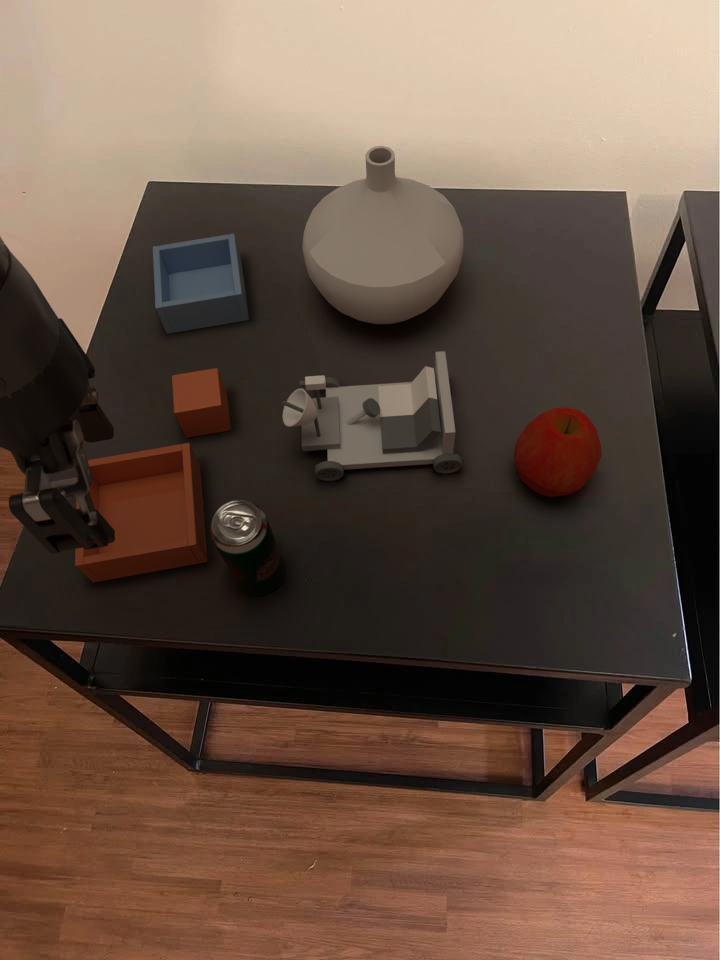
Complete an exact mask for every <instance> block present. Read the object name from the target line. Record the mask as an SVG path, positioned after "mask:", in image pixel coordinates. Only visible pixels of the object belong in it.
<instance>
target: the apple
mask: <svg viewBox="0 0 720 960" xmlns="http://www.w3.org/2000/svg"><path fill="white" fill-rule="evenodd" d="M513 452H514V453H513V456H514V457H513V458H514V461H515V467H516V471H517V473H518V476H519V478H520V479H521V481H522V483H524V484H525V485H526V486H527V487H529V489H530V490H532V491H534V492H536V493H538V495H539V494H540V495H541V496H544V497H550V498H552V497H553V498H554V497H561V496H567V495H572V494H574V493H576V492H577V491H579V490H580V491H581V490H582V489H583V488H584V486H585V485H586V484H587V482H588V481H589V479H590V478H591V477H592V476H593V474H594V473H595V471H596V470H597V467H598V465H599V463H600V461H601V457H602V444H601V439H600V436H599V432H598V429H597V427H596V426H595V423H594V422H593V421H592V420H591V418H589V416H587V414H586V413H585V412H583V411H581V410H580V409H577V408H572V407H568V406H565V407H564V406H563V407H552V408H550V409H547V410H545V411H543V412H541V413H539V414H538V415H537V416H536V417H535V418H533V419H532V420H531V421H530V422H529V423H528V424H527V425H526V426H525V427H524V429H523V430H522V432H521V433H520V435H518V437H517V439H516V442H515V445H514V451H513Z"/></svg>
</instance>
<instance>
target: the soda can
mask: <svg viewBox="0 0 720 960" xmlns="http://www.w3.org/2000/svg"><path fill="white" fill-rule="evenodd" d="M209 534H210V538H211V541H212V543H213V545H214V546H215V548H216V550H217V552H218V553H219V555H220V557H221V559H222V560H223V562H224V564H225V566H226V567H227V569H228V571H229V572H230V574H231V575H232V577H233V579H234V581H235V583H236V584H237V586H238V587H239V589H241V590H242V591H243V592H244V593H247V594H249V595H253V596H262V595H267V594H269V593H271V592H274V590H276V589H277V588H278V587H280V585H281V584H282V582H283V581H284V578H285V575H286V564H285V561H284V557H283V556H282V553H281V550H280V547H279V546H278V542H277V540H276V538H275V534H274V532H273V530H272V527H271V525H270V522H269V520H268V517H267V514H266V512H265V511H264V510H263V509H262V508H261V507H260V506H259V505H257V504H255V503H253V502H251V501H248V500H244V499H234V500H230V501H228V502H225V503H224V504H222V505H221V506H219V508H218V509H217V510H215V513H214V514H213V516H212V519H211V523H210V527H209Z"/></svg>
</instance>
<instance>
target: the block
mask: <svg viewBox="0 0 720 960" xmlns="http://www.w3.org/2000/svg"><path fill="white" fill-rule="evenodd" d="M171 382H172V399H173V414H174V415H175V418H176V419H177V421H178V423H179V426H180V427H181V430H182V432H183V434H184V436H185V438H186V439H188V438H194V437H200V436H206V435H211V434H217V433H223V432H228V431H232V426H231V416H230V415H231V414H230V405H229V397H228V396H229V395H228V393H227V390H226V387H225V384H224V381H223V378H222V376H221V372H220V371H219V368H218V367H214V368H209V369H203V370H197V371H190V372H185V373H178V374H173V375H172V376H171Z"/></svg>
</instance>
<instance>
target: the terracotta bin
mask: <svg viewBox="0 0 720 960" xmlns="http://www.w3.org/2000/svg"><path fill="white" fill-rule="evenodd" d="M193 449H194V448H193V447H192V445H191V443H189V442H186V443H179V444H174V445H168V446H161V447H156V448H151V449H145V450H139V451H134V452H128V453H121V454H116V455H111V456H104V457H99V458H92V459H87V461H88V464H89V467H90V470H91V473H92V476H93V479H94V483H93V485H92V486H91V488H90V490H89V492H90V495H91V498H92V501H93V504H94V507H95V510H98V512H99V513H100V514H101V515H102V516H103V517H104V519H105V520H106V521H107V522H108V523H109V524H110V526H111V527H112V528H113V529H114V530H115V541H114V542H112V543H108V546H105V547H100V548H94V549H89V550H85V549H84V548H78V549H74V550H75V552H74V557H75V559H74V566H75V567H76V569H78V570H79V571H80V572H81V573H82V574H83V575H84V576H86V578H87V579H89V580H90V581H91V582H92V583H98V582H104V581H110V580H115V579H121V578H127V577H133V576H138V575H143V574H149V573H155V572H159V571H165V570H171V569H177V568H182V567H188V566H194V565H199V564H204V563H208V550H207V548H208V547H207V535H206V523H205V511H204V510H205V509H204V496H203V483H202V482H203V481H202V471H201V463H200V462H199V459H198V458H197V455H196V453H195V451H194V450H193ZM75 499H76V498H75ZM75 501H76V502H75V504H76V505H75V506H76V507H75V509H78V508H80V507H79V504H78V501H77V499H76V500H75Z"/></svg>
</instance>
